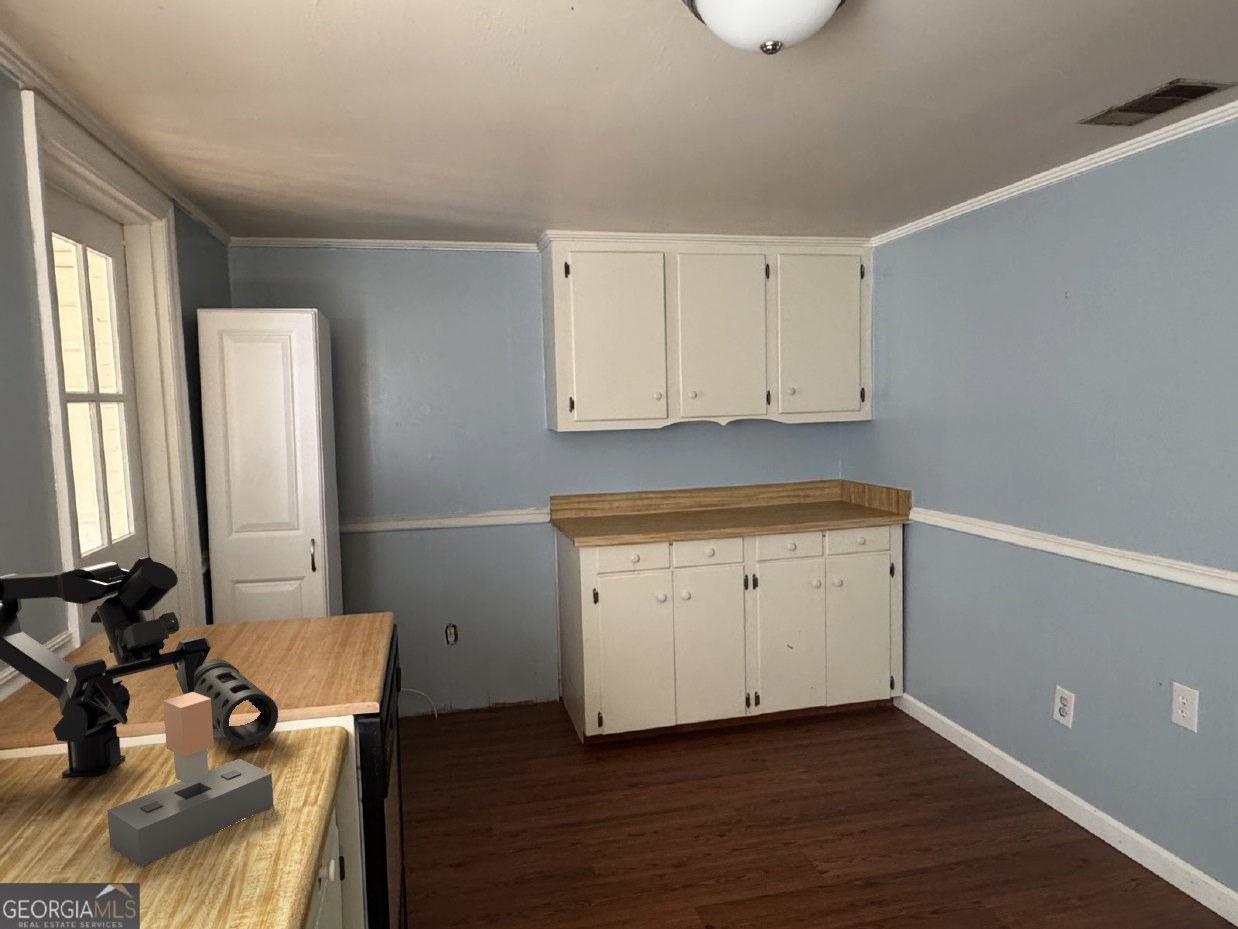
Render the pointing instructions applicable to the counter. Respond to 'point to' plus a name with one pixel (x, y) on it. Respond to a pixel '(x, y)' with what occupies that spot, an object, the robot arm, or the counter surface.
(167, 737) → the plug
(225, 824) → the socket block
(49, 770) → the counter surface
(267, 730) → the muzzle brake
